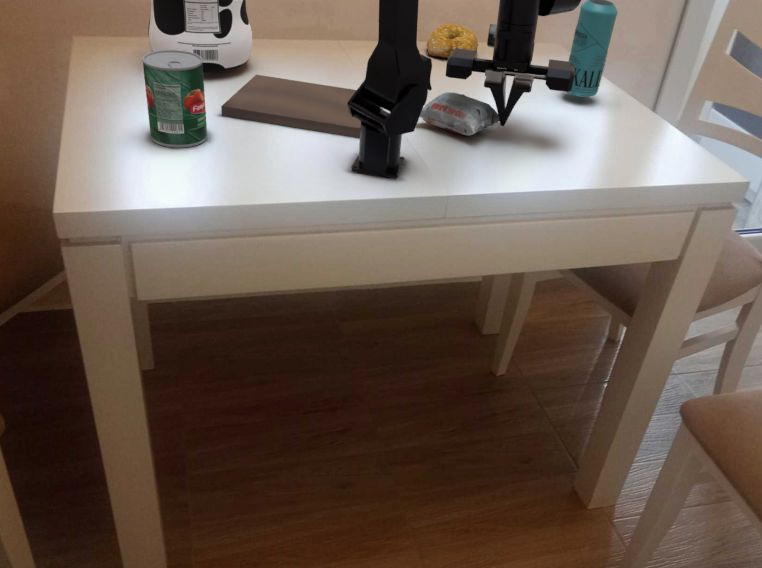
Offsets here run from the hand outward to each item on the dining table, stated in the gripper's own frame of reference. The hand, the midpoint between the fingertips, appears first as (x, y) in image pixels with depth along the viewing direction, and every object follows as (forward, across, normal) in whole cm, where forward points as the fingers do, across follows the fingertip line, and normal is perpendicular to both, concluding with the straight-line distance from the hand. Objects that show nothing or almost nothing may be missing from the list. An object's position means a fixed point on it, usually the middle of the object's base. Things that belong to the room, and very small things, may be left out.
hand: (502, 125), depth 120 cm
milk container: (0, +54, -11) cm, 55 cm away
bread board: (+1, +31, +2) cm, 31 cm away
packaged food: (+2, +7, 0) cm, 8 cm away
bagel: (+2, +14, -40) cm, 42 cm away
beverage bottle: (+3, -12, -24) cm, 27 cm away
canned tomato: (0, +45, +20) cm, 49 cm away
